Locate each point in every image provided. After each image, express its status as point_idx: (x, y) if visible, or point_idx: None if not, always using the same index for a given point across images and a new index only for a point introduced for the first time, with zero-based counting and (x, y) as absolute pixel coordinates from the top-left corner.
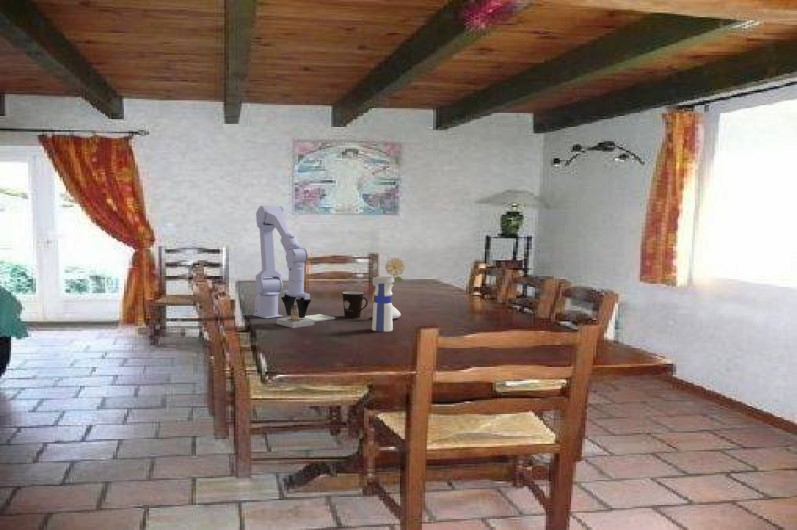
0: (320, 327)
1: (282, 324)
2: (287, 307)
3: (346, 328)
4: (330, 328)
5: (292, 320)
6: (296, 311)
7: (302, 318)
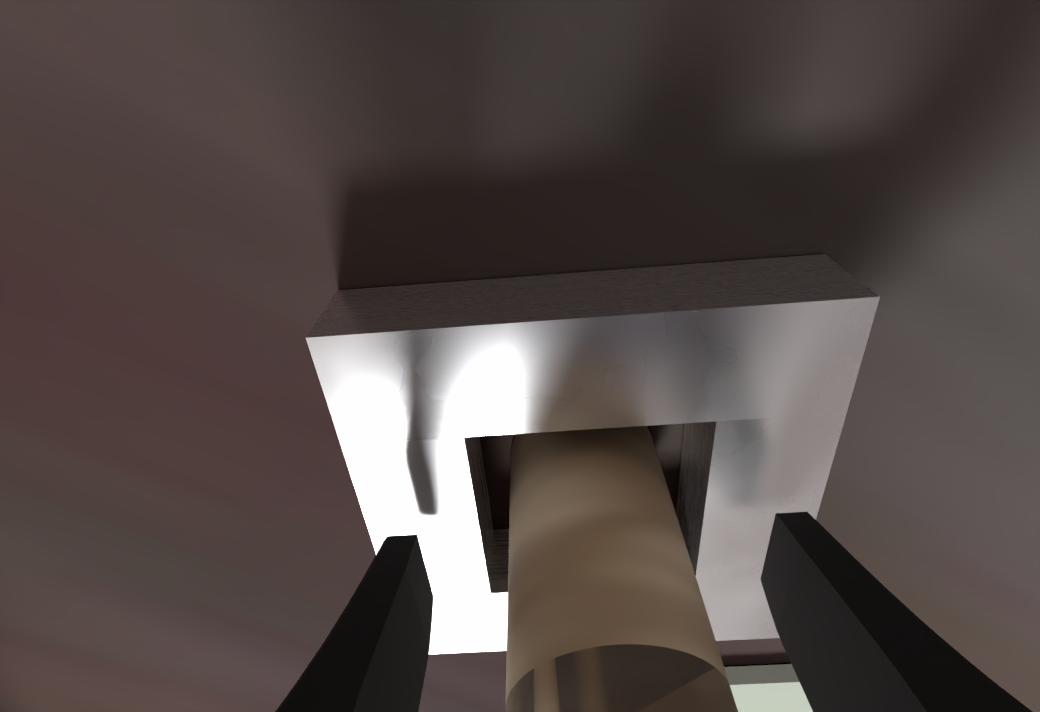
0: (244, 573)
1: (644, 274)
2: (876, 665)
3: (110, 697)
4: (146, 614)
5: (516, 433)
6: (515, 638)
7: None
